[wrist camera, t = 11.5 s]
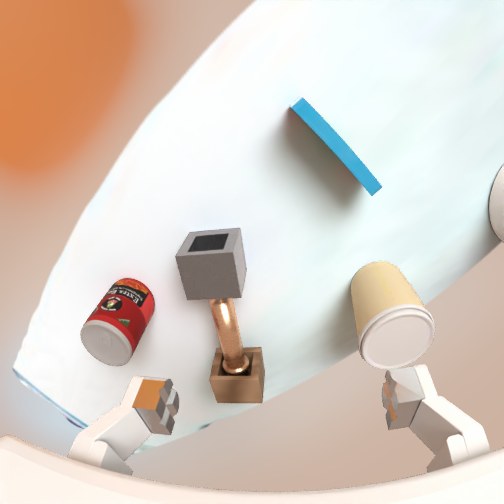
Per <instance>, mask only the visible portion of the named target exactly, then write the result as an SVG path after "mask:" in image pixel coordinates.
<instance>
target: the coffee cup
mask: <svg viewBox="0 0 504 504" xmlns="http://www.w3.org/2000/svg"><path fill="white" fill-rule="evenodd" d="M351 297H352V303H353V309H354V316H355V322H356V329H357V335H358V348H359V352H360V355H361V357H362V358H363V359H364V360H365V361H366V362H367V363H368V364H369V365H371V366H373V367H375V368H378V369H385V370H389V369H397V368H401V367H404V366H406V365H409V364H411V363H412V362H414V361H416V360H417V359H419V358H420V357H421V356H422V355H423V354H424V353H425V352H426V351H427V350H428V348H429V346H430V345H431V343H432V341H433V339H434V334H435V322H434V319H433V317H432V315H431V314H430V313H429V311H428V310H427V309H426V308H425V306H424V304H423V303H422V301H421V300H420V298H419V297H418V295H417V294H416V292H415V291H414V289H413V288H412V287H411V285H410V284H409V282H408V281H407V279H406V278H405V277H404V275H403V274H402V272H401V271H400V270H399V269H398V268H397V266H395V265H394V264H392V263H390V262H387V261H375V262H371V263H368V264H366V265H365V266H363V267H362V268H361V269H359V270H358V272H357V273H356V274H355V276H354V277H353V279H352V282H351Z"/></svg>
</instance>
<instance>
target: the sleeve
mask: <svg viewBox="0 0 504 504" xmlns="http://www.w3.org/2000/svg"><path fill="white" fill-rule="evenodd" d="M175 257H176V261H177V264H178V268H179V272H180V275H181V279H182V283H183V286H184V290H185V293H186V297H187V300H200V299H224V298H241V296H242V291H243V286H244V281H245V275H246V270H247V268H246V262H245V255H244V249H243V243H242V236H241V230H240V228H232V229H220V230H209V231H198V232H190V233H189V234H188V236H187V238H186V239H185V241H184V243H183V244H182V246H181V248H180V249H179V251H178V253H177V254H176V256H175Z"/></svg>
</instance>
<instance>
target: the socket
mask: <svg viewBox="0 0 504 504" xmlns="http://www.w3.org/2000/svg"><path fill="white" fill-rule="evenodd" d="M243 352H244V355H246V356H247V357H248V359H249V368H248V370H247V371H248V375H249V376H229V374H227V373H226V372H225V371H224V368H223V360H224V355H223V352H222V348H217V349H216V353H215V358H214V362H213V366H212V370H211V375H210V379H209V380H210V383H211V386H212V389H213V392H214V395H215V397H216V400H217V403H262V402H263V389H264V376H265V369H264V363H263V356H262V350H261V347H255V348H243Z"/></svg>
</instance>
